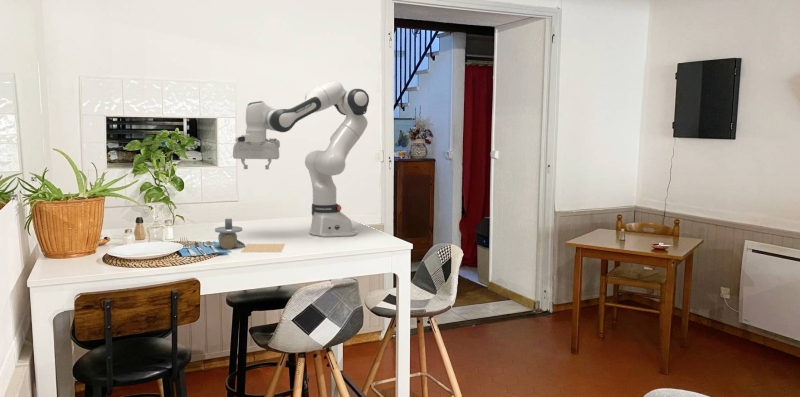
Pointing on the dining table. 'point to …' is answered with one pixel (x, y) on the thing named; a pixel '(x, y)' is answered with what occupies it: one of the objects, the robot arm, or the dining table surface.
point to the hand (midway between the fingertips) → (256, 169)
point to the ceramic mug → (229, 241)
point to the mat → (263, 248)
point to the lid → (228, 227)
